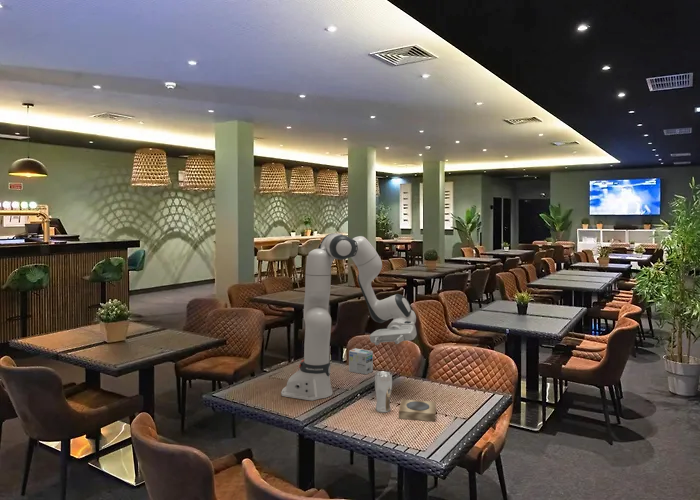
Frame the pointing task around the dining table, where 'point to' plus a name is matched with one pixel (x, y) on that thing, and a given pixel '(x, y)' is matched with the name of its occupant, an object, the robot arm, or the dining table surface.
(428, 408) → the brass stand
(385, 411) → the beer glass
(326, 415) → the dining table surface
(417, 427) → the dining table surface
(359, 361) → the light bulb box
